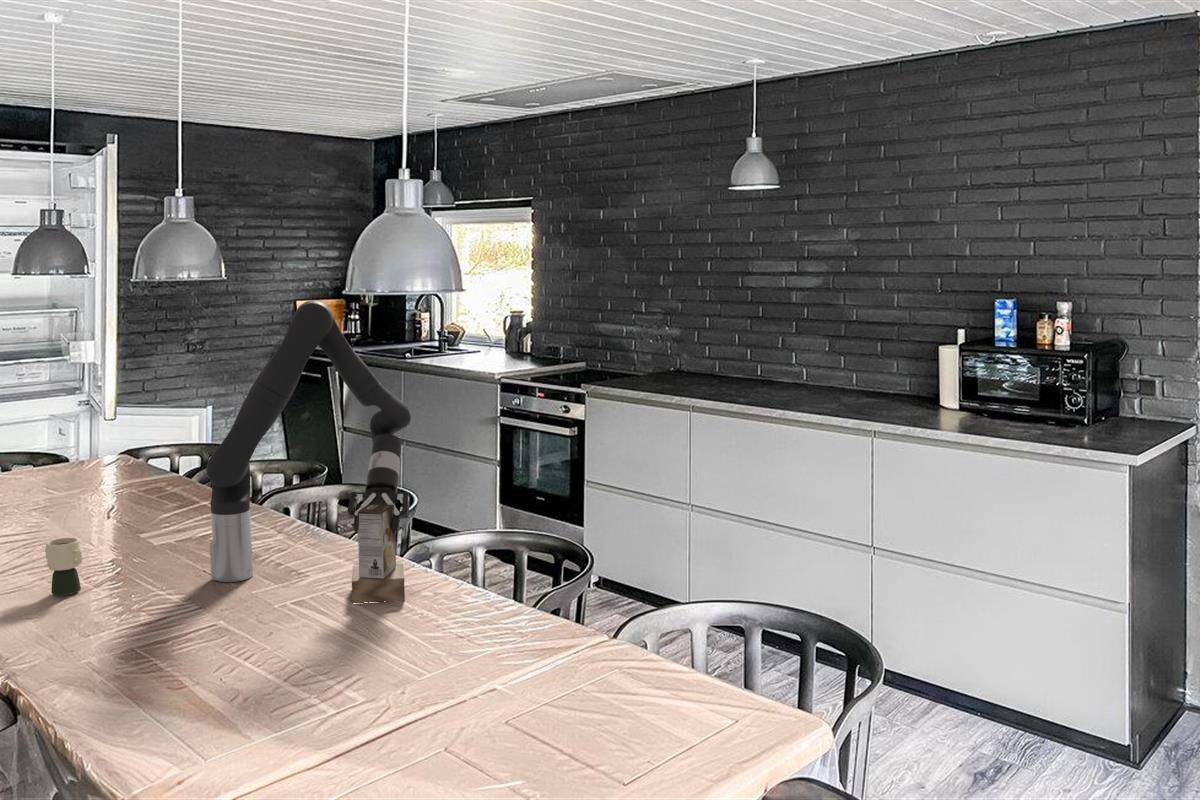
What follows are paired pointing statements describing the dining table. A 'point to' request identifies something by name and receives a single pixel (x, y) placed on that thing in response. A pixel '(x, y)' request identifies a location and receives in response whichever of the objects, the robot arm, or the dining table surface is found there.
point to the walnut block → (378, 587)
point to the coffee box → (376, 541)
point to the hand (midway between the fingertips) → (375, 532)
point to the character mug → (64, 564)
